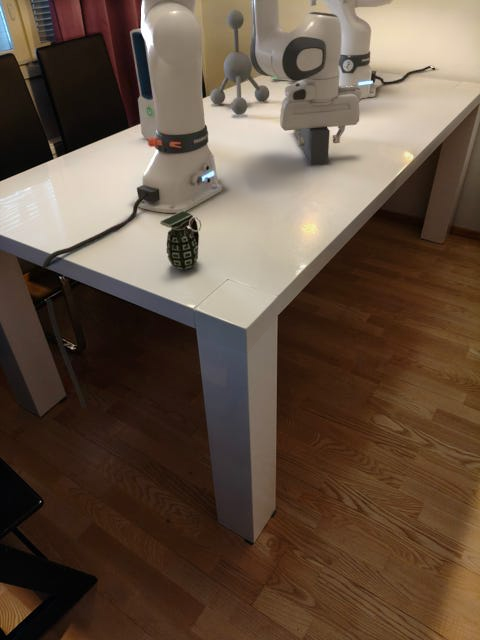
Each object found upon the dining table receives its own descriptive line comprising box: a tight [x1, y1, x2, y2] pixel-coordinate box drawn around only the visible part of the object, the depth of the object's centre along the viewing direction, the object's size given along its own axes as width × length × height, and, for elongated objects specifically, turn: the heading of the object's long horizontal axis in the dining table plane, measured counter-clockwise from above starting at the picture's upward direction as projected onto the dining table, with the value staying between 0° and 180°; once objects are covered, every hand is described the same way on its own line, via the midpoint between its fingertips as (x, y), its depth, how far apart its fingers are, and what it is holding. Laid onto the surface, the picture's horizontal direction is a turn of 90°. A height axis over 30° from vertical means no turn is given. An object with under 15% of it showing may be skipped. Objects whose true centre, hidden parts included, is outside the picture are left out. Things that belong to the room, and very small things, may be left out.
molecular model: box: [209, 9, 270, 116], centre depth 169 cm, size 24×22×30 cm
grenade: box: [159, 211, 202, 271], centre depth 88 cm, size 7×6×10 cm
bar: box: [293, 127, 331, 166], centre depth 137 cm, size 27×5×9 cm, turn 4°
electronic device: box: [129, 27, 158, 140], centre depth 143 cm, size 12×8×30 cm, turn 47°
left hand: (318, 144), depth 129 cm, fingers open, 8 cm apart
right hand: (329, 4), depth 141 cm, fingers open, 8 cm apart
